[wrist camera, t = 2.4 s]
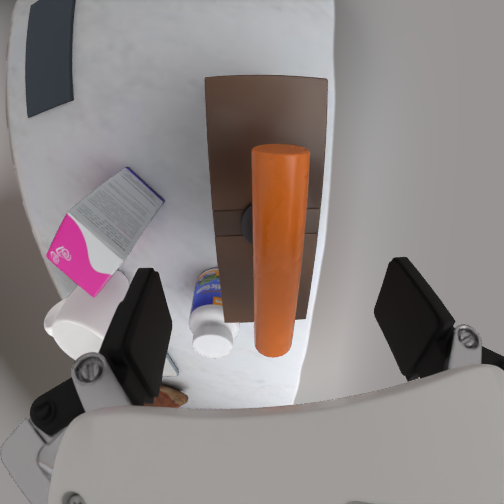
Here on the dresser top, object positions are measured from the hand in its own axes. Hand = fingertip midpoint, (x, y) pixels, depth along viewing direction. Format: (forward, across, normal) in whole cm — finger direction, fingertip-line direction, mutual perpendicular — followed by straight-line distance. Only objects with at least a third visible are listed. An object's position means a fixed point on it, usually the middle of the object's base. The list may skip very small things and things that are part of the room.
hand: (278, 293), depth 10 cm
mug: (+19, +20, +13) cm, 31 cm away
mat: (+18, +22, -18) cm, 34 cm away
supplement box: (+18, +13, +2) cm, 23 cm away
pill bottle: (+18, +5, +14) cm, 24 cm away
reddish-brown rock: (+19, +20, +42) cm, 50 cm away
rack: (+18, 0, 0) cm, 18 cm away
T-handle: (+15, 0, 0) cm, 15 cm away
